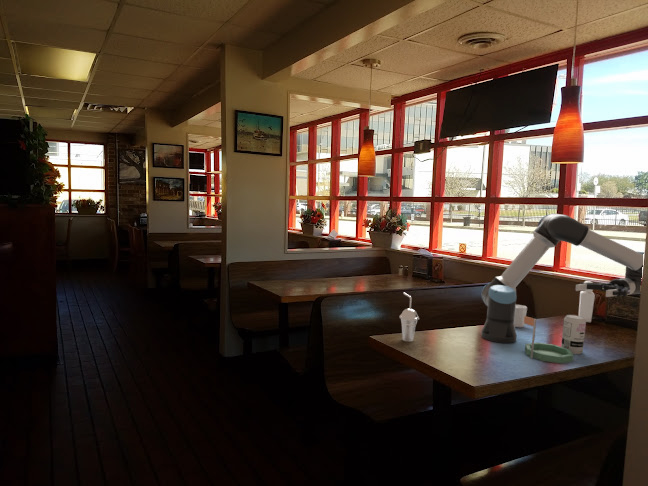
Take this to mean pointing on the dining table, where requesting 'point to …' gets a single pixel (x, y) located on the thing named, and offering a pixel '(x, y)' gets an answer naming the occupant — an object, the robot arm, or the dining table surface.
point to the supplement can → (573, 333)
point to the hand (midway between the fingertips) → (591, 290)
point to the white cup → (519, 315)
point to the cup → (546, 348)
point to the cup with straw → (408, 322)
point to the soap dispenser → (586, 303)
